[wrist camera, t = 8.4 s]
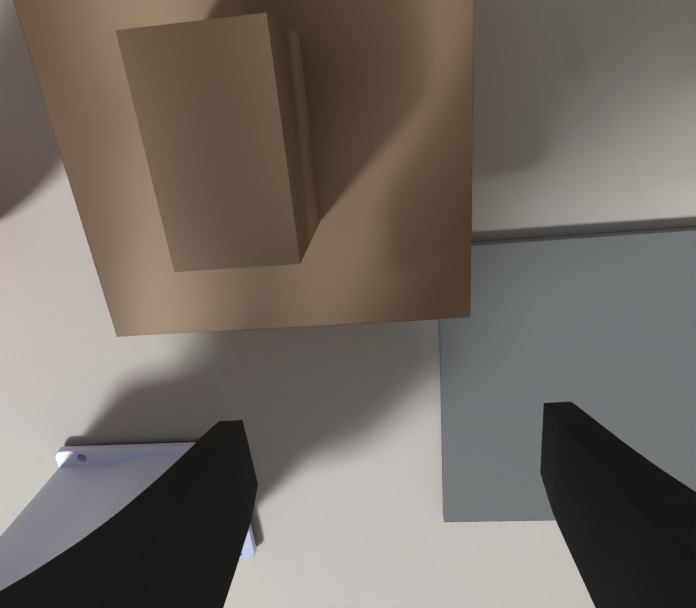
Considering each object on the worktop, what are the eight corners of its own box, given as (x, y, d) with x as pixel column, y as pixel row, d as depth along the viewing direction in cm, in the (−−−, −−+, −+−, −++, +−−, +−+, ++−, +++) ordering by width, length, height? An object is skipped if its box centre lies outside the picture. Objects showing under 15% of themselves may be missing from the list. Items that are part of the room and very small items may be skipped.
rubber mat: (443, 514, 26) (444, 521, 26) (437, 244, 20) (439, 248, 20) (743, 509, 25) (749, 517, 24) (830, 217, 19) (841, 220, 19)
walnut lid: (128, 326, 18) (44, 404, 13) (7, -82, 13) (-184, -168, 9) (466, 307, 17) (497, 385, 12) (469, -147, 12) (520, -285, 7)
